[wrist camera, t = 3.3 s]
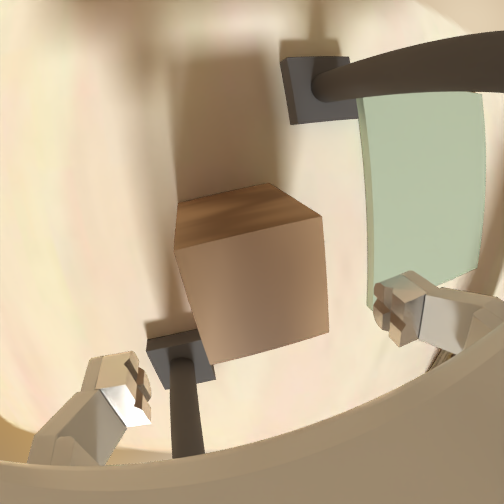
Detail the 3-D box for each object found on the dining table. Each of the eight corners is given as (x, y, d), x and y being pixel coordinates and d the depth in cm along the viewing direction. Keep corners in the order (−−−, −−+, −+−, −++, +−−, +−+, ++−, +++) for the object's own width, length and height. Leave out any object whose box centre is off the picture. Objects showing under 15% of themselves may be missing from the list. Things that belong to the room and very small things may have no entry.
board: (474, 93, 17) (481, 94, 16) (471, 264, 23) (477, 267, 22) (353, 85, 15) (360, 84, 15) (366, 305, 21) (372, 311, 21)
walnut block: (268, 182, 17) (321, 216, 10) (281, 264, 19) (328, 332, 12) (178, 203, 16) (173, 250, 10) (199, 284, 18) (210, 365, 12)
